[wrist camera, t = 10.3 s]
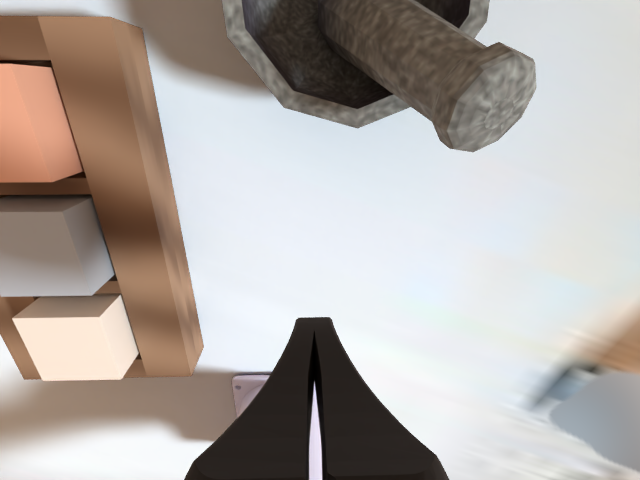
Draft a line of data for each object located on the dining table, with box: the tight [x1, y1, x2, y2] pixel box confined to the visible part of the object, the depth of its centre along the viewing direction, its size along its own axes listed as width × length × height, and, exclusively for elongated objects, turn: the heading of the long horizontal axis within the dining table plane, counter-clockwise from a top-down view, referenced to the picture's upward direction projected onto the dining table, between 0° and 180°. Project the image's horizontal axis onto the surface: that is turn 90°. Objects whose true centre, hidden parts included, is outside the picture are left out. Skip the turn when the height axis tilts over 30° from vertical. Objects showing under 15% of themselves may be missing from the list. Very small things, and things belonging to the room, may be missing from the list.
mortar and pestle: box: [222, 0, 536, 152], centre depth 12 cm, size 11×9×12 cm
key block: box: [0, 16, 204, 379], centre depth 20 cm, size 22×12×3 cm, turn 0°
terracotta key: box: [0, 64, 84, 182], centre depth 16 cm, size 5×5×4 cm
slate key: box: [0, 194, 116, 297], centre depth 19 cm, size 5×5×4 cm
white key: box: [12, 293, 139, 381], centre depth 21 cm, size 5×5×4 cm
